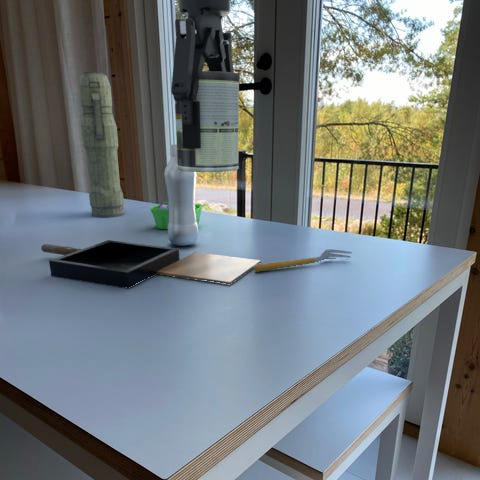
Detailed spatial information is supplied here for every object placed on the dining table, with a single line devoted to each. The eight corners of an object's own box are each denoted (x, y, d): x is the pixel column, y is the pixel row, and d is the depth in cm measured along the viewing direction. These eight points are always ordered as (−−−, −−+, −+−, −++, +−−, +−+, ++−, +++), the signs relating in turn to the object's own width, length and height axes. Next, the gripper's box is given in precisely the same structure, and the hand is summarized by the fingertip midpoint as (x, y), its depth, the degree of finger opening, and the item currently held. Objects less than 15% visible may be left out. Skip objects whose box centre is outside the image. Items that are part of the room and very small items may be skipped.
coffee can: (165, 170, 75) (160, 71, 70) (193, 165, 84) (190, 76, 79) (226, 173, 72) (225, 69, 67) (247, 167, 81) (248, 75, 76)
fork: (257, 265, 82) (352, 250, 89) (252, 260, 83) (347, 246, 90) (255, 278, 83) (349, 262, 90) (251, 273, 84) (344, 258, 92)
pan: (10, 269, 84) (7, 253, 83) (73, 248, 98) (71, 234, 97) (128, 288, 75) (127, 271, 74) (179, 262, 89) (179, 248, 87)
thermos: (94, 219, 125) (77, 70, 111) (89, 211, 135) (73, 73, 121) (128, 217, 128) (115, 71, 114) (120, 209, 138) (108, 75, 124)
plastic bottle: (205, 243, 102) (203, 144, 94) (185, 250, 97) (180, 146, 89) (182, 239, 105) (178, 143, 97) (161, 246, 100) (155, 145, 92)
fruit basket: (150, 229, 114) (147, 181, 110) (162, 222, 122) (159, 177, 118) (196, 232, 112) (194, 182, 108) (205, 224, 120) (204, 178, 116)
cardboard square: (156, 274, 82) (156, 271, 82) (195, 255, 94) (195, 252, 93) (230, 285, 77) (230, 282, 76) (261, 263, 89) (261, 260, 88)
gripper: (188, -44, 57) (194, 151, 66) (257, -3, 76) (255, 143, 85) (137, -37, 60) (149, 149, 69) (215, 1, 79) (217, 142, 88)
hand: (207, 146), depth 77 cm, fingers closed on coffee can, 10 cm apart
